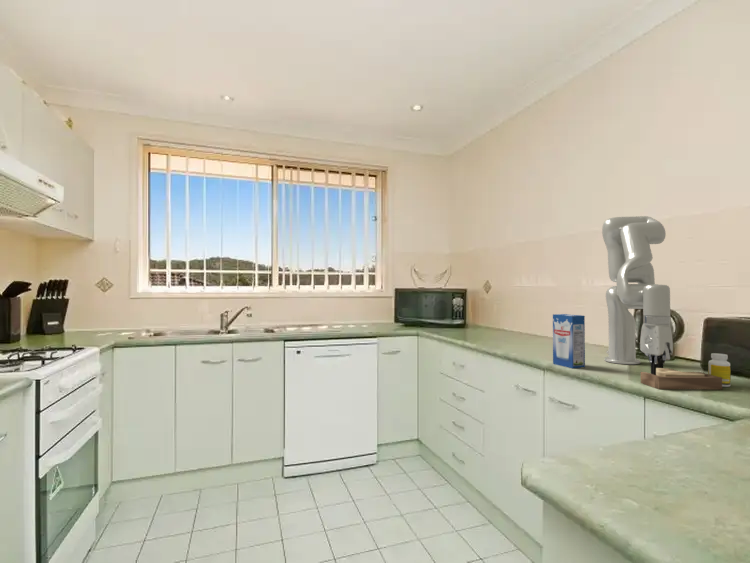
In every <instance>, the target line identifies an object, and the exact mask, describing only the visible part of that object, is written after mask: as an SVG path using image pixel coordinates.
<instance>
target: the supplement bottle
mask: <svg viewBox="0 0 750 563" xmlns="http://www.w3.org/2000/svg"><path fill="white" fill-rule="evenodd" d="M710 358H711V359H710V360H708V363H707V365H708V366H707V368H708V370H707V371H708V372H707V374H709V375H713V376H717V377H721V378H722V388H729V387H731V371H732V370H731V362H729V361H728V360H729V358H728V354H725V353H716V352H715V353H714V352H713V353H711V354H710Z"/></svg>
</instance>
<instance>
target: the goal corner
mask: <svg viewBox="0 0 750 563" xmlns="http://www.w3.org/2000/svg"><path fill="white" fill-rule="evenodd" d="M696 372H697V373H701V374H704V375H705V377H663V376H657V375H654V374H651V372H646V371H641V372H640V384H643V385H646V386H649V387H652V388H653V389H657V390H723V387H722V378H721V377H717V376H713V375H709V374H708V373H706V372H705V373H704V372H702V371H701V372H700V371H696Z"/></svg>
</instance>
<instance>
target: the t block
mask: <svg viewBox="0 0 750 563" xmlns="http://www.w3.org/2000/svg"><path fill="white" fill-rule="evenodd" d="M697 372H698V371H680V370H676V369H672V368H669V367H663V368H656V375H657V376H663V377H705V375H704V374H701V373H697Z"/></svg>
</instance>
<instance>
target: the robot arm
mask: <svg viewBox="0 0 750 563" xmlns="http://www.w3.org/2000/svg"><path fill="white" fill-rule="evenodd" d="M601 229H602V231H601V233H602V239H603V242H604V244H605V246H606V251H607V265H608V268H607V269H608V277H609V279H610V281H611V282H613V283H616V285H614V286H613V285H612V286H611V287H609V288H607V290H606V292H605V301H606V307H607V312H608V313H607V316H608V317H607V318H608V349H607V350H606V354H608V356H605V357H604V361H605V362H607V363H613V364H617V365H618V364H621V365H640V364H641V360H640V359H638V358H636V356H637V355H636V354H637V352H636V347H637V346H636V319H635V316H634V315H633V314H632V313H631V312H630V310H642V311H643V312H642V314H643V315H642V316H643V318H642V319H643V321H642V322H643V323H642V326H641V329H640V330H641V331H640V340H639V341H640V342H639V343H640V344H639V349H640V351H641V352H642V353H644V355H645V356H647V357H648V361H649V363H650V374H654V375H656V368H664V365H665V363H666V361H670V360H671V356H672V355H673V353H674V352H673V351H674V343H673V342H674V341H673V333H672V326H671V288H670V286H669V285H667V284H657V283H656V282H655V270H654V266H653V264H652V263H651V262H652V260H653V253H652V250H651V245H659V244H662V243H663V242H664V241H665V239H666V236H667V235H666V228H665V227H664V225H663V224H662V223H661V222H660V221H658V220H657V219H655V218H653V217H651V216H647V215H643V216H642V215H641V216H616V217H611V218H607V219H605V221H604V222H603V223H602V228H601Z"/></svg>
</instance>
